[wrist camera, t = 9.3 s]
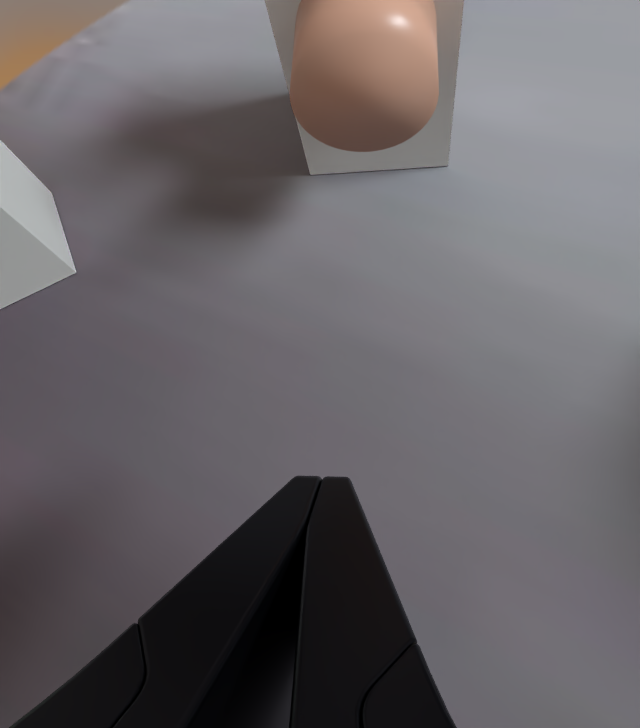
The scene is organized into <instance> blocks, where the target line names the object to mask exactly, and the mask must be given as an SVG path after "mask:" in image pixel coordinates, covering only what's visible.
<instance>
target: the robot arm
mask: <svg viewBox="0 0 640 728" xmlns="http://www.w3.org/2000/svg"><path fill="white" fill-rule="evenodd" d="M9 728H457V727H456V726H455V724H454V722H453V720H452V718H451V716H450V714H449V712H448V710H447V708H446V706H445V704H444V701H443V699H442V697H441V695H440V693H439V690H438V688H437V686H436V684H435V682H434V679H433V677H432V675H431V673H430V671H429V668H428V666H427V663H426V661H425V658H424V656H423V654H422V651H421V649H420V646H419V645H418V644H417V640H416V637H415V635H414V633H413V630H412V628H411V625H410V623H409V620H408V618H407V616H406V613H405V611H404V608H403V606H402V604H401V601H400V599H399V596H398V594H397V591H396V589H395V587H394V584H393V582H392V579H391V577H390V574H389V572H388V570H387V567H386V565H385V562H384V560H383V557H382V555H381V553H380V550H379V548H378V545H377V543H376V540H375V538H374V536H373V533H372V531H371V528H370V526H369V523H368V521H367V519H366V516H365V514H364V511H363V509H362V506H361V504H360V502H359V499H358V497H357V494H356V492H355V489H354V487H353V485H352V482H351V480H350V479H349V478H348V477H330V476H327V477H324V478H323V479H321V478H320V477H319V476H296V477H294V478H293V479H291V480H290V481H289V482H288V483H287V484H286V485H285V486H284V487H283V488H282V489H281V490H279V491H278V492H277V493H276V494H275V495H274V496H273V497H272V498H271V499H270V500H268V501H267V502H266V503H265V504H264V505H263V506H262V507H261V508H260V509H259V510H257V511H256V512H255V513H254V514H253V515H252V516H251V517H250V518H249V519H248V520H246V521H245V522H244V523H243V524H242V525H241V526H240V527H239V528H238V529H237V530H236V531H234V532H233V533H232V534H231V535H230V536H229V537H228V538H227V539H226V540H225V541H223V542H222V543H221V544H220V545H219V546H218V547H217V548H216V549H215V550H214V551H212V552H211V553H210V554H209V555H208V556H207V557H206V558H205V559H204V560H203V561H202V562H200V563H199V564H198V565H197V566H196V567H195V568H194V569H193V570H192V571H191V572H189V573H188V574H187V575H186V576H185V577H184V578H183V579H182V580H181V581H180V582H178V583H177V584H176V585H175V586H174V587H173V588H172V589H171V590H170V591H169V592H167V593H166V594H165V595H164V596H163V597H162V598H161V599H160V600H159V601H158V602H157V603H155V604H154V605H153V606H152V607H151V608H150V609H149V610H148V611H147V612H146V613H144V614H143V615H142V616H141V617H140V618H139V619H138V624H136V623H134V624H132V625H131V626H130V627H129V628H128V629H127V630H125V631H124V632H123V633H122V634H121V635H120V636H119V637H118V638H117V639H116V640H114V641H113V642H112V643H111V644H110V645H109V646H108V647H107V648H105V649H104V650H103V651H102V652H101V653H100V654H99V655H97V656H96V657H95V658H94V659H93V660H92V661H91V662H89V663H88V664H87V665H86V666H85V667H84V668H83V669H81V670H80V671H79V672H78V673H77V674H76V675H74V676H73V677H72V678H71V679H70V680H68V681H67V682H66V683H65V684H63V685H62V686H61V687H60V688H58V689H57V690H56V691H55V692H53V693H52V694H51V695H50V696H48V697H47V698H46V699H45V700H43V701H42V702H41V703H40V704H38V705H37V706H36V707H35V708H34V709H32V710H31V711H30V712H29V713H27V714H26V715H25V716H23V717H22V718H21V719H20V720H18V721H17V722H16V723H14V724H13V725H12V726H10V727H9Z"/></svg>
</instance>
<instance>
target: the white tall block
mask: <svg viewBox="0 0 640 728" xmlns="http://www.w3.org/2000/svg"><path fill="white" fill-rule="evenodd" d="M300 2H301V0H265V3H266V7H267V10H268V14H269V18H270V22H271V26H272V30H273V33H274V37H275V41H276V45H277V49H278V53H279V57H280V60H281V64H282V68H283V72H284V76H285V80H286V84H287V87H288V91H289V95H290V82H291V70H292V58H293V46H294V34H295V22H296V15H297V11H298V7H299V4H300ZM433 2H434V5H435V10H436V21H437V49H438V78H439V96H438V102H437V105H436V109H435V111H434V113H433V115H432V117H431V118H430V120H429V121H428V123H427V124H426V125H425V126H424V127H423V128H422V129H421V130H420V131H419V132H418V133H417V134H415V135H414V136H413V137H411V138H410V139H408V140H406V141H404V142H403V143H401V144H398V145H396V146H393V147H390V148H387V149H383V150H378V151H371V152H353V151H346V150H341V149H337V148H334V147H331V146H328V145H326V144H324V143H322V142H320V141H319V140H317V139H315V138H314V137H312V136H311V135H310V134H309V133H308V132H307V131H306V130H305V129H304V128H303V127H302V126H301V125H300V123H299V122H298V121H297V119H296V122H297V126H298V130H299V134H300V137H301V141H302V145H303V149H304V153H305V157H306V161H307V164H308V168H309V172H310V175H318V174H333V173H348V172H363V171H378V170H393V169H408V168H424V167H439V166H448V161H449V151H450V140H451V130H452V119H453V109H454V98H455V88H456V77H457V67H458V56H459V46H460V35H461V25H462V15H463V4H464V0H433ZM295 118H296V117H295Z"/></svg>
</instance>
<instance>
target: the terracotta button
mask: <svg viewBox="0 0 640 728" xmlns="http://www.w3.org/2000/svg"><path fill="white" fill-rule="evenodd" d="M438 96H439V78H438V49H437V21H436V10H435V5H434V2H433V0H301V2H300V4H299V7H298V11H297V15H296V22H295V34H294V46H293V58H292V70H291V82H290V103H291V107H292V110H293V113H294V115H295V117H296V119H297V121H298V122H299V123H300V125H301V126H302V127H303V128H304V129H305V130H306V131H307V132H308V133H309V134H310V135H311V136H312V137H314V138H315V139H317V140H319V141H320V142H322V143H324V144H326V145H328V146H331V147H334V148H337V149H341V150H346V151H353V152H371V151H378V150H383V149H387V148H390V147H393V146H396V145H398V144H401V143H403V142H404V141H406V140H408V139H410V138H411V137H413V136H414V135H415V134H417V133H418V132H419V131H420V130H421V129H422V128H423V127H424V126H425V125H426V124H427V123H428V121H429V120H430V118H431V117H432V115H433V113H434V111H435V109H436V105H437V102H438Z"/></svg>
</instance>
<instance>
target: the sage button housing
mask: <svg viewBox="0 0 640 728" xmlns="http://www.w3.org/2000/svg"><path fill="white" fill-rule="evenodd" d="M75 273H76V269H75V266H74V263H73V260H72V256H71V253H70V250H69V247H68V244H67V240H66V237H65V234H64V231H63V227H62V224H61V221H60V218H59V215H58V211H57V208H56V205H55V202H54V198H53V195H52V193H51V192H50V191H49V190H48V189H47V187H46V186H45V185H44V184H43V183H42V182H41V181H40V180H39V179H38V178H37V177H36V176H35V175H34V174H33V173H32V172H31V171H30V170H29V169H28V168H27V167H26V166H25V165H24V164H23V163H22V162H21V161H20V160H19V159H18V158H17V157H16V156H15V155H14V154H13V153H12V152H11V151H10V150H9V149H8V148H7V147H6V145H5V144H4V143H3V142H2V141H1V140H0V309H2V308H4V307H6V306H8V305H10V304H12V303H14V302H17V301H19V300H21V299H23V298H25V297H27V296H29V295H31V294H33V293H35V292H37V291H39V290H42V289H44V288H46V287H48V286H50V285H52V284H54V283H56V282H58V281H60V280H62V279H64V278H67V277H69V276H71V275H73V274H75Z"/></svg>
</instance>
